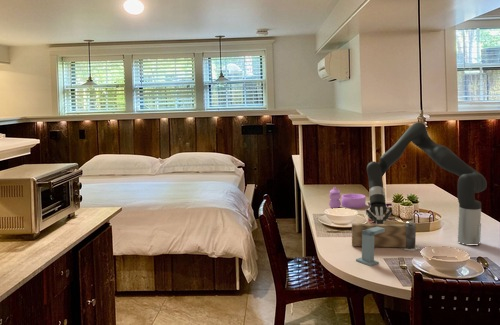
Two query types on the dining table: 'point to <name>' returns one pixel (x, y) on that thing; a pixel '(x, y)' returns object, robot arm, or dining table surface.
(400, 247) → the post
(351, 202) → the container set
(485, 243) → the dining table surface
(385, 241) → the link
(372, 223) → the teacup with lid
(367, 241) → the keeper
